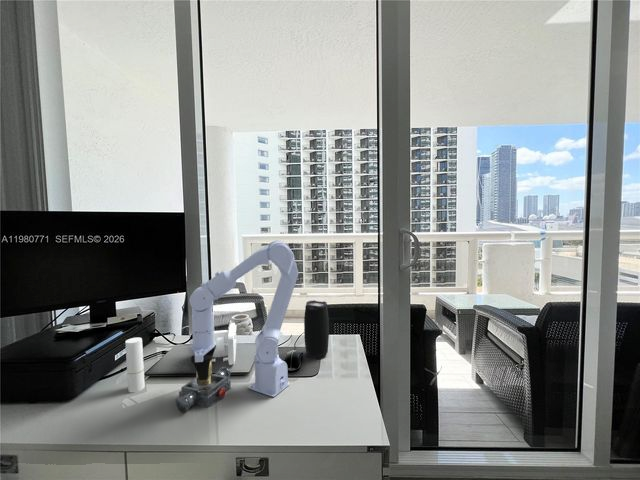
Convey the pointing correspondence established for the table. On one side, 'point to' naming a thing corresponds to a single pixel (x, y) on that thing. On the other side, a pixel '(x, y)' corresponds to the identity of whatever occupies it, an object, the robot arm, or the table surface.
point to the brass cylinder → (209, 379)
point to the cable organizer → (226, 344)
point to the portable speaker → (316, 329)
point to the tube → (135, 364)
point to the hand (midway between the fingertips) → (204, 375)
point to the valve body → (204, 391)
